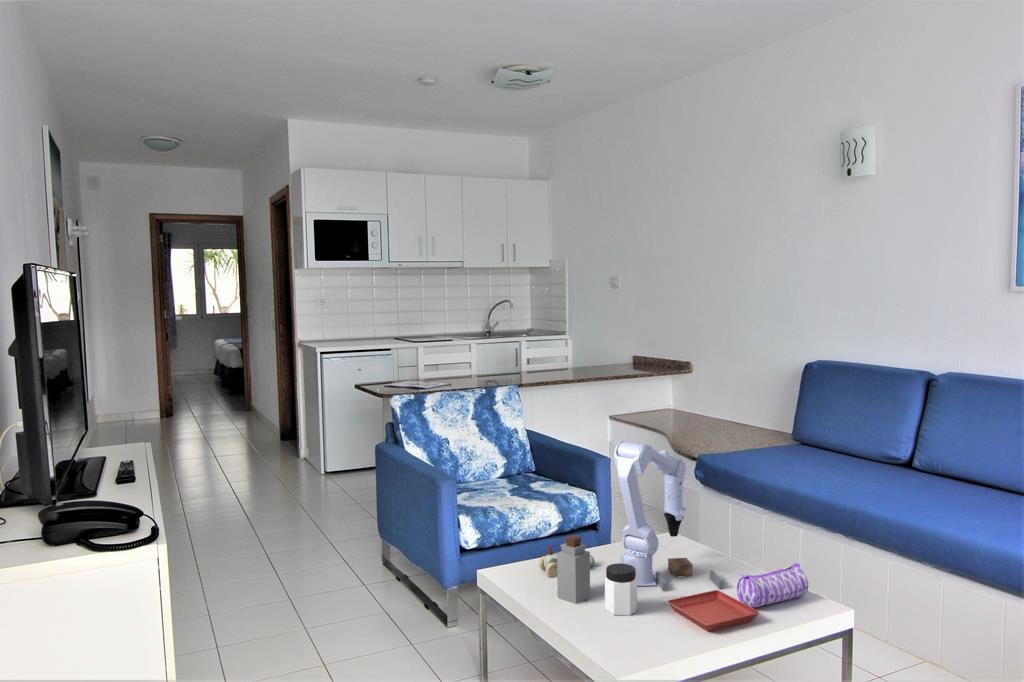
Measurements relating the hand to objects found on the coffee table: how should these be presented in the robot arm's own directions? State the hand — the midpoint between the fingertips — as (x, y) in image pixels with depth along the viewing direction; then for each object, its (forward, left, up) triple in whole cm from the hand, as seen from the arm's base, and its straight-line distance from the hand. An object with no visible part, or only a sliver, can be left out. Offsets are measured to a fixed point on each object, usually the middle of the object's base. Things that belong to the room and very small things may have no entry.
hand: (673, 535), depth 252 cm
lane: (0, -18, -9) cm, 20 cm away
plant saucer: (0, -40, -10) cm, 41 cm away
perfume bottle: (-36, -24, -10) cm, 44 cm away
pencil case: (+21, -31, -10) cm, 39 cm away
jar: (-24, -34, -10) cm, 43 cm away
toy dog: (-36, -2, -10) cm, 37 cm away
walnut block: (0, -8, -10) cm, 12 cm away
